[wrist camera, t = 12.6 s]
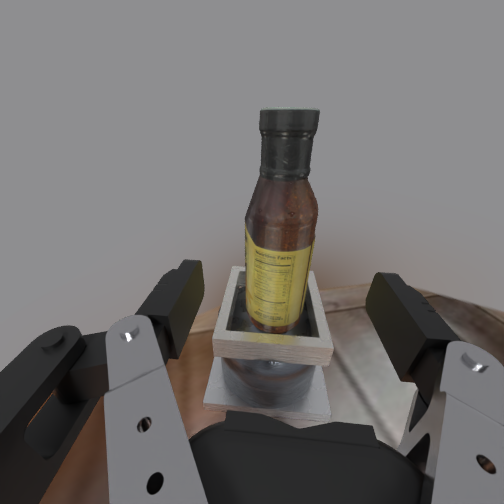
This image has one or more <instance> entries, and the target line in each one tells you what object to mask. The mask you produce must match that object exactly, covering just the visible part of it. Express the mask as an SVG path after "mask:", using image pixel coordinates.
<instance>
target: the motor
mask: <svg viewBox="0 0 504 504" xmlns="http://www.w3.org/2000/svg"><path fill="white" fill-rule="evenodd" d="M239 286H243V287H242V288H239ZM212 342H213V351H214V361H213V365H212V369H211V373H210V377H209V381H208V385H207V389H206V393H205V397H204V400H203V406H204V410H214V411H224V412H227V410H232V411H242V412H251V413H260V414H264V415H266V416H273V417H282V418H292V419H302V420H312V421H322V422H329V421H330V418H331V410H330V405H329V400H328V395H327V390H326V385H325V380H324V375H323V370H322V366H329V363H330V360H331V356H332V353H333V350H334V347H333V343H332V339H331V336H330V332H329V328H328V324H327V321H326V317H325V313H324V309H323V306H322V302H321V298H320V294H319V291H318V287H317V283H316V279H315V276H314V272H313V271H309V277H308V283H307V289H306V295H305V300H304V306H303V310H302V313H301V314H300V320H299V323H298V324H297V325H296V326H295V327H294V328H293V329H291V330H289V331H288V332H285V333H282V334H271V333H267V332H264V331H262V330H260V329H258V328H257V327H255V326H254V324H253V323H252V322H251V320H250V318H249V316H248V314H247V308H246V273H245V267H240V266H239V267H237V266H233V267H232V270H231V274H230V277H229V281H228V284H227V288H226V292H225V295H224V299H223V302H222V305H221V307H220V310H219V314H218V320H217V323H216V327H215V330H214V334H213V337H212Z"/></svg>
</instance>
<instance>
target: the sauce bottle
mask: <svg viewBox="0 0 504 504" xmlns="http://www.w3.org/2000/svg"><path fill="white" fill-rule="evenodd" d="M319 114H320V111H319V109H316V108H295V107H291V108H275V107H273V108H263V109H261V111H260V122H259V130H260V133H261V136H262V149H261V166H260V176H259V179H258V181H257V184H256V187H255V190H254V193H253V196H252V199H251V201H250V205H249V207H248V210H247V213H246V216H245V273H246V308H247V314H248V316H249V318H250V320H251V322H252V323H253V324H254V326H255V327H257V328H258V329H260V330H262V331H264V332H267V333H271V334H282V333H285V332H288V331H289V330H291V329H293V328H294V327H295V326H296V325H297V324H298V323H299V320H300V314H301V313H302V310H303V306H304V300H305V295H306V289H307V283H308V277H309V271H310V266H311V259H312V254H313V248H314V242H315V227H316V223H317V216H318V204H317V200H316V198H315V196H314V193H313V191H312V188H311V186H310V183H309V182H308V176H309V173H310V161H311V152H312V146H313V138H314V135H315V134H316V131H317V127H318V122H319Z"/></svg>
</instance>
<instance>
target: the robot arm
mask: <svg viewBox="0 0 504 504" xmlns="http://www.w3.org/2000/svg"><path fill="white" fill-rule="evenodd" d="M203 296H204V279H203V269H202V263H201V261H200V260H183V262H182V263H181V265H180V266H179V268H178V269H172V270H171V271H169V272H168V273H166V274H165V275H163V277H162V278H161V279H160V281H159V282H158V285H156V286H155V288H154V289H153V291H152V292H151V293H150V294H149V296H148V297H147V299H146V300H145V301H144V303H143V304H142V305H141V307H140V308H139V309H138V311H137V312H136V313H135V315H132V316H128V317H125V318H123V319H121V320H119V321H118V322H116V323H115V324H114V325H112V326H111V327H110V329H109V330H108V331H106V332H100V333H95V334H89V335H83V336H82V334H81V333H80V331H79V329H78V328H77V327H75V326H61V327H57V328H54V329H51V330H49V331H47V332H45V333H43V334H42V335H40V336H39V337H37V338H36V339H35V340H34V341H32V342H31V343H30V344H29V345H28V346H27V347H26V348H25V349H24V350H23V351H22V352H21V353H20V354H19V355H18V356H17V357H16V358H15V359H14V360H13V361H12V362H11V363H9V364H8V365H7V366H6V367H5V368H4V369H3V370H2V371H1V372H0V504H39V502H40V500H41V499H42V497H43V495H44V493H45V492H46V490H47V488H48V487H49V485H50V483H51V481H52V480H53V478H54V476H55V474H56V473H57V471H58V469H59V468H60V466H61V464H62V462H63V461H64V459H65V457H66V455H67V454H68V452H69V450H70V449H71V447H72V445H73V443H74V442H75V440H76V438H77V436H78V435H79V433H80V431H81V430H82V428H83V426H84V424H85V423H86V421H87V419H88V417H89V416H90V414H91V412H92V410H93V409H94V407H95V405H96V404H97V402H98V400H99V398H100V397H101V396H104V412H105V430H106V448H107V465H108V483H109V501H110V504H504V367H503V365H502V364H501V363H500V362H499V361H498V360H497V359H496V358H495V357H493V356H492V355H491V354H489V353H488V352H486V351H485V350H483V349H481V348H479V347H477V346H475V345H473V344H470V343H467V342H462V341H461V340H460V339H459V338H458V336H457V335H456V334H455V333H454V332H453V331H452V329H451V328H450V327H449V326H448V325H447V324H446V322H445V321H444V320H443V319H442V318H441V317H440V315H439V314H438V313H436V312H435V310H434V308H433V307H432V306H431V305H429V303H428V301H427V300H426V299H425V298H424V297H423V296H422V294H421V293H419V292H418V291H416V290H415V289H413V288H412V287H411V286H408V285H406V284H405V282H404V281H403V280H402V279H401V278H400V276H399V275H398V274H396V273H380V272H378V273H376V274H375V276H374V279H373V281H372V284H371V287H370V290H369V292H368V295H367V298H366V310H367V313H368V315H369V317H370V319H371V321H372V323H373V325H374V327H375V329H376V332H377V334H378V336H379V338H380V340H381V342H382V344H383V346H384V348H385V350H386V352H387V354H388V356H389V358H390V360H391V362H392V364H393V366H394V369H395V371H396V373H397V375H398V377H399V379H400V381H402V382H413V383H415V384H416V386H417V390H416V391H415V393H414V397H413V400H412V404H411V408H410V412H409V415H408V419H407V423H406V427H405V430H404V434H403V437H402V440H401V442H400V444H399V446H398V448H397V450H395V449H393V448H392V447H390V446H389V445H387V444H385V443H383V442H381V441H379V440H377V439H376V436H375V432H374V429H373V426H371V425H361V424H352V423H343V422H332V423H327V424H322V425H317V426H312V427H307V428H302V429H299V428H295V427H293V426H290V425H288V424H285V423H283V422H280V421H278V420H276V419H273V418H271V417H268V416H266V415H264V414H260V413H251V412H242V411H232V410H227V413H226V419H225V421H223V422H219V423H216V424H213V425H210V426H208V427H206V428H204V429H202V430H201V431H199V432H198V433H196V434H195V435H194V436H192V437H191V438H190V439H189V440H188V438H187V434H186V431H185V428H184V425H183V422H182V418H181V415H180V412H179V409H178V406H177V402H176V399H175V396H174V393H173V390H172V386H171V383H170V380H169V377H168V374H167V370H166V367H165V365H166V363H167V361H168V359H169V358H170V359H178V358H179V356H180V354H181V351H182V349H183V346H184V344H185V341H186V339H187V336H188V334H189V332H190V329H191V327H192V324H193V322H194V319H195V317H196V314H197V312H198V309H199V307H200V305H201V302H202V299H203ZM51 393H53V394H52V395H51V397H50V398H49V399H48V401H47V402H46V403H45V405H44V406H43V407H42V409H41V410H40V411H39V413H38V414H37V415H36V416H35V418H34V419H33V420H32V422H31V423H30V424H29V422H30V420H31V419H32V418H33V416H34V415H35V414H36V412H37V411H38V410H39V408H40V407H41V406H42V405H43V403H44V402H45V401H46V399H47V398H48V397H49V395H50V394H51ZM28 424H29V426H28V427H27V425H28Z"/></svg>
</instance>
